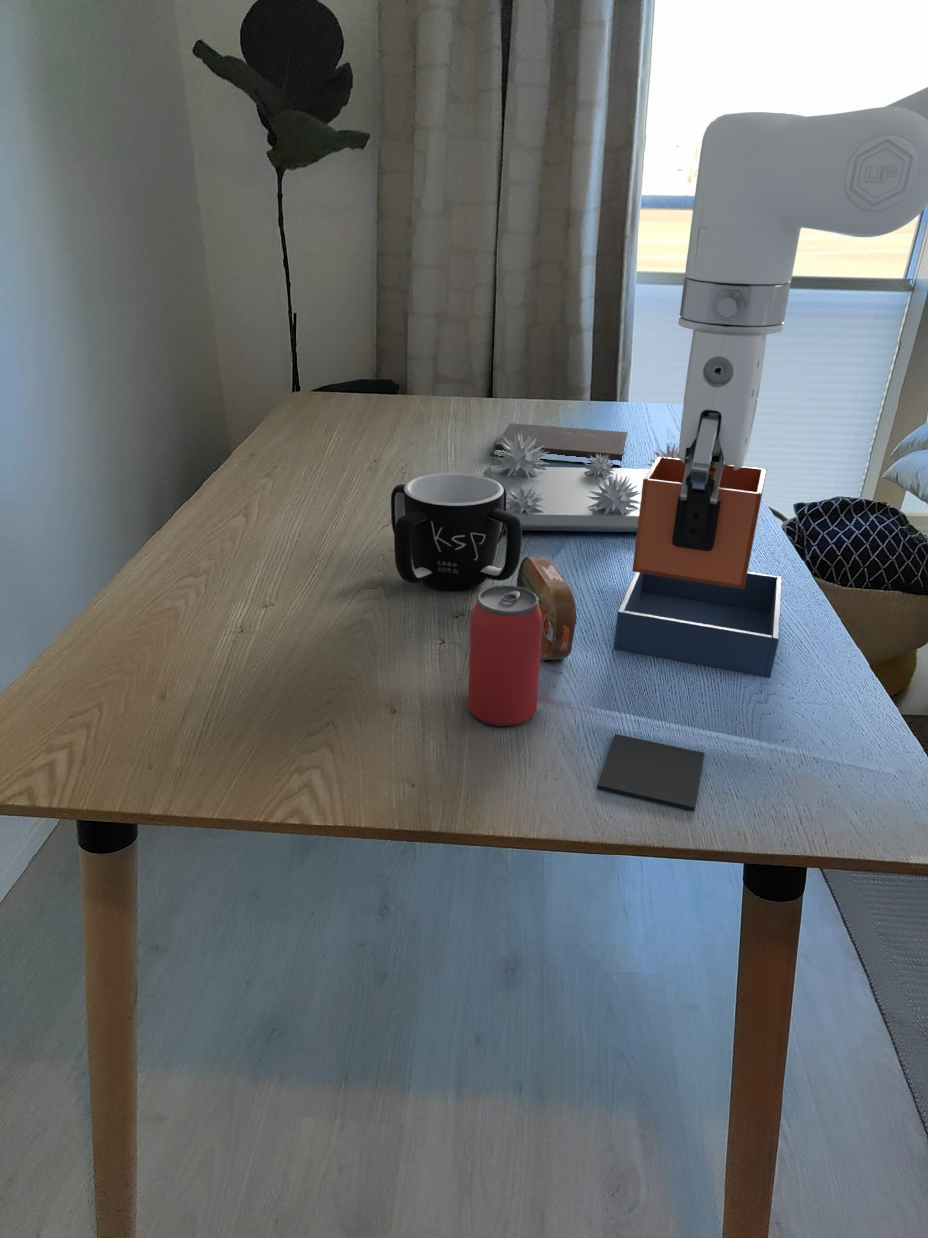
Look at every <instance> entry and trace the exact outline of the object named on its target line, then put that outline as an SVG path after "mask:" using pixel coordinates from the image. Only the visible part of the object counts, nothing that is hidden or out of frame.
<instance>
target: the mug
mask: <svg viewBox="0 0 928 1238" xmlns="http://www.w3.org/2000/svg"><path fill="white" fill-rule="evenodd" d="M390 494H391V495H390V517H391V527H392V533H393V543H394V545H393V546H394V548H393V549H394V561H395V567H396V570H397V572H398V574H399V576H400V577H401V578H402V580H403V581H405V582H408V583H411V584H419V583H421V582H422V583H424V584H426V585H428V586H430V587H432V588H435V589H436V588H437V589H441V590H450V591H451V590H453V591H456V590H466V589H470V588H474V587H476V586H479V585H481V584H483V583H484V582H485V581H487V579H489V580H493V581H499V582H500V581H505V580H509V578H511V577H512V576H513V575H514V574H515V573H516V570H517V568H518V566H519V563H520V560H521V554H522V537H523V536H522V535H523V530H522V526H521V522H520V520H519V518H518V517H517V516H516V515H514V514H511V513H509V512H506V490H505V487H504V486H503V485H501V484H499V483H498V482H496V481H494V480H492V479H489V478H486V477H484V475H479V474H472V473H465V472H440V473H431V474H427V475H422V476H419V477H416V478H413V479H412V480H409V481H408V482H407V483H401V484H398V485H396V486H394V488H393V489H392V492H391V493H390ZM505 526H506V530H504V527H505ZM504 531H505V532H506V533H505V535H506V538H505V539H506V540H505V557H504V563H503V565H502V568H499V567H496V566H494V562H495V559H496V554H497V549H498V545H499V543H500V542H501V540H502V537H503V534H504Z"/></svg>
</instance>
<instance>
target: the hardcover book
mask: <svg viewBox="0 0 928 1238" xmlns="http://www.w3.org/2000/svg"><path fill="white" fill-rule="evenodd" d="M514 431H515V434H516V438H518V433H519V437H520V436H521V431H522V436H523V443H525V442H526V440H527V438H528V437H529V439H530V437H531V436H532V435H533V437H532V439H531V442H530V444H531V443H532V441H533V440H534V439H535V438H536V437H537V438H536V440H535V442H536V441H537V443H536V445H535V447H534V448H533V449H536V448H538V447H541V446H544V445H545V446H544V447H542V448H541V449H540V450H539V451H541V450H544V451H543V452H541V453H545V452H548V453H546V454H557V455H565V456H576V457H586V458H591V457H592V456H593V458H596V453H597V456H598V455H599V457H600V453H601V459H602V457H603V455H604V457H605V456H606V455H607V456H608V455H609V456H608V458H607V459H609V458H610V459H609V460H619V461H622V456H623V452H624V447H625V442H626V443H627V438H628V431H617V430H605V429H592V428H591V429H590V428H578V427H565V426H551V425H539V424H527V423H526V424H525V423H513V422H511V423H509V425H508V426H507V427H506V429H505V431H503V433H502V434H501V436H500V437H499V439H498V440H497V441H496V442H495V445H494V451H495V450H501V451H502V450H504V451H506V450H505V449H504V447H503V446H502V444H501V443H500V442H499V441H501V442H502V443H504V444H505V445H506V446H508V444H507V442H506V441H505V439H504V437H505V438H506V439H507V440H508V441H509V442H510V440H511V441H512V442H513V444H514ZM533 433H534V434H533ZM529 435H530V436H529ZM503 436H504V437H503ZM508 447H509V446H508ZM625 448H626V447H625ZM624 453H625V452H624ZM590 456H591V457H590ZM607 456H606V457H607ZM605 459H606V458H605ZM622 462H623V461H622Z"/></svg>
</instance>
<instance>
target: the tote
mask: <svg viewBox="0 0 928 1238" xmlns="http://www.w3.org/2000/svg"><path fill="white" fill-rule="evenodd" d="M782 587H783V576H779V575H774V574H773V575H772V574H765V573H759V572H752V571H748V572H747V577H746V582H745V587H744V589H739V588H732V587H726V586H720V585H714V584H707V583H701V582H695V581H689V580H682V579H676V578H670V577H664V576H657V575H651V574H645V573H639V572H634V574H633V576H632V579H631V580H630V583H629V585H628V588H627V590H626V592H625V594H624V597H623V599H622V601H621V604H620V606H619V608H618V611H617V614H616V615H617V616H616V624H615V631H614V632H615V633H614V641H613V650H614V651H619V652H620V651H621V652H624V653H625V652H626V653H630V654H636V655H643V656H648V657H653V658H657V659H658V658H659V659H662V660H663V659H664V660H670V661H675V662H681V663H687V664H692V665H697V666H702V667H708V668H713V669H719V670H724V671H730V672H735V673H741V674H745V675H752V676H757V677H763V678H769V679H771V678H772V673H773V667H774V664H775V660H776V655H777V648H778V645H779V640H780V626H781V625H780V623H781V606H782V589H783V588H782Z"/></svg>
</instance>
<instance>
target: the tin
mask: <svg viewBox="0 0 928 1238" xmlns="http://www.w3.org/2000/svg"><path fill="white" fill-rule="evenodd" d="M516 586H517V587H522V588H525V589H528V590H530V591H531V592H533V593H534V594H535V595H536V596H537V597H538V605H539V608H540V611H541V614H542V623H543V626H542V640H541V653H540V661H542V662H544V661H547V660H550V661H551V660H555V661H556V660H565V659H566V658H568V657H569V656H570V654H571V653H572V650H573V649H572V648H573V642H574V637H575V628H576V625H577V607H576V600H575V596H574V593H573V591H572V588H571V587H570V586H569V584H568V582H567V581H566V579H564V577H563V576H562V574H561V573H560V571H559V570H558V568H557V567H556V566H555V564H554V563H553V561H552V560H551V559H549V558H547V557H530V556H525V557H523V559H522V560H521V562H520V565H519V567H518V572H517V578H516Z"/></svg>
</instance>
